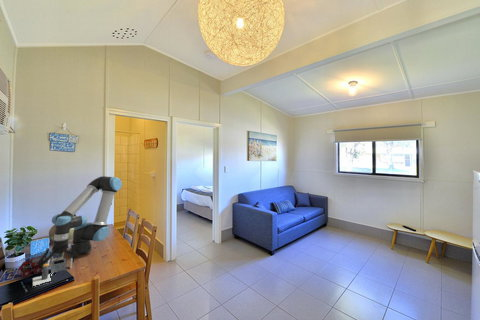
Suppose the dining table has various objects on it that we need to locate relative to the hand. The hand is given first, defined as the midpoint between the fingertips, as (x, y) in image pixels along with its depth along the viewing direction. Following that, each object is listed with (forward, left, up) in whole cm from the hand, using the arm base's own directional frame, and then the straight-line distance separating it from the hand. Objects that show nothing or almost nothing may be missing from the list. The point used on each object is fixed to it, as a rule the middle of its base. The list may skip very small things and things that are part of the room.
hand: (57, 270), depth 132 cm
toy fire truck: (-7, -12, 0) cm, 14 cm away
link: (0, 0, 0) cm, 0 cm away
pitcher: (-62, +9, 0) cm, 63 cm away
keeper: (+9, -7, 0) cm, 11 cm away
